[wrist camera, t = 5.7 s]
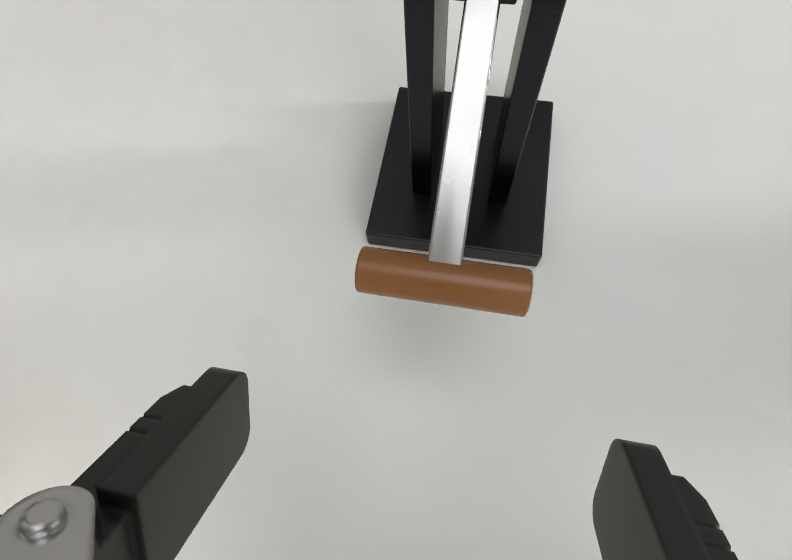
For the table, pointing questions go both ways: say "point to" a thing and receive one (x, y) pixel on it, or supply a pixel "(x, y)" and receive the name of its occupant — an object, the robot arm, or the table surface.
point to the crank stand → (498, 150)
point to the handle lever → (455, 200)
